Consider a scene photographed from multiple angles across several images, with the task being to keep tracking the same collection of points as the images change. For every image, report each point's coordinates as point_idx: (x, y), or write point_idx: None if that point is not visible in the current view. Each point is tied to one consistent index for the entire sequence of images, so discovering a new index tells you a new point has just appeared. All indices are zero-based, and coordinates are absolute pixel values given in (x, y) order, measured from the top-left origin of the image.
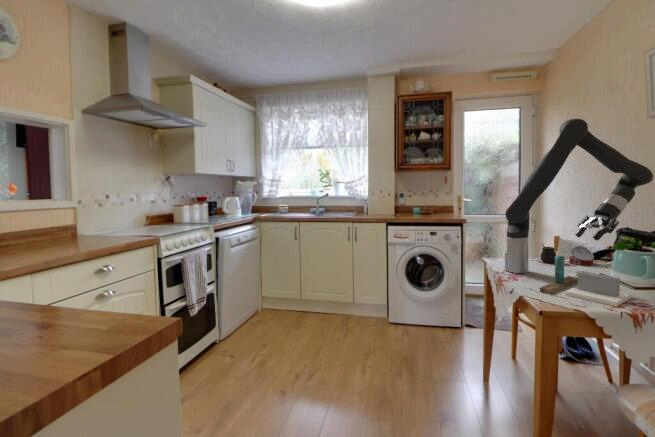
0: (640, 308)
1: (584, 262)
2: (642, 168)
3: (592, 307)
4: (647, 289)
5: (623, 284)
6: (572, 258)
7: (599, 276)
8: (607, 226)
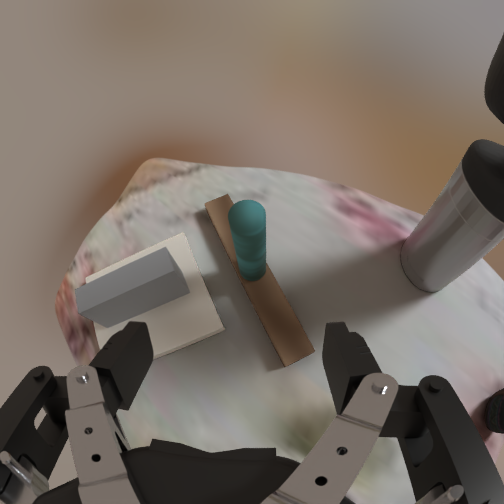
0: (67, 314)
1: None
2: None
3: (109, 234)
4: None
5: None
6: None
7: (111, 274)
8: (30, 394)
